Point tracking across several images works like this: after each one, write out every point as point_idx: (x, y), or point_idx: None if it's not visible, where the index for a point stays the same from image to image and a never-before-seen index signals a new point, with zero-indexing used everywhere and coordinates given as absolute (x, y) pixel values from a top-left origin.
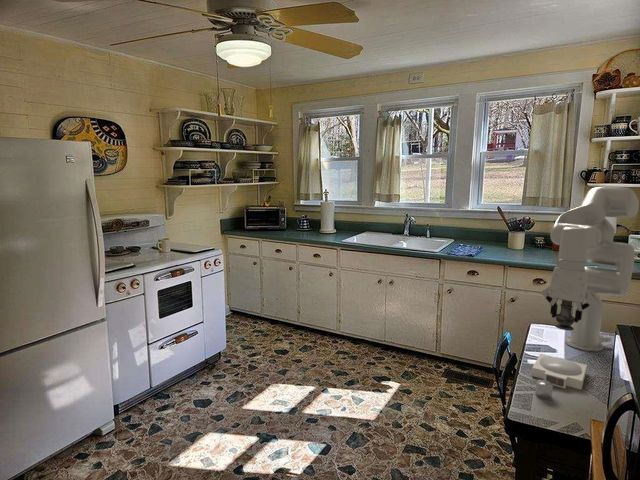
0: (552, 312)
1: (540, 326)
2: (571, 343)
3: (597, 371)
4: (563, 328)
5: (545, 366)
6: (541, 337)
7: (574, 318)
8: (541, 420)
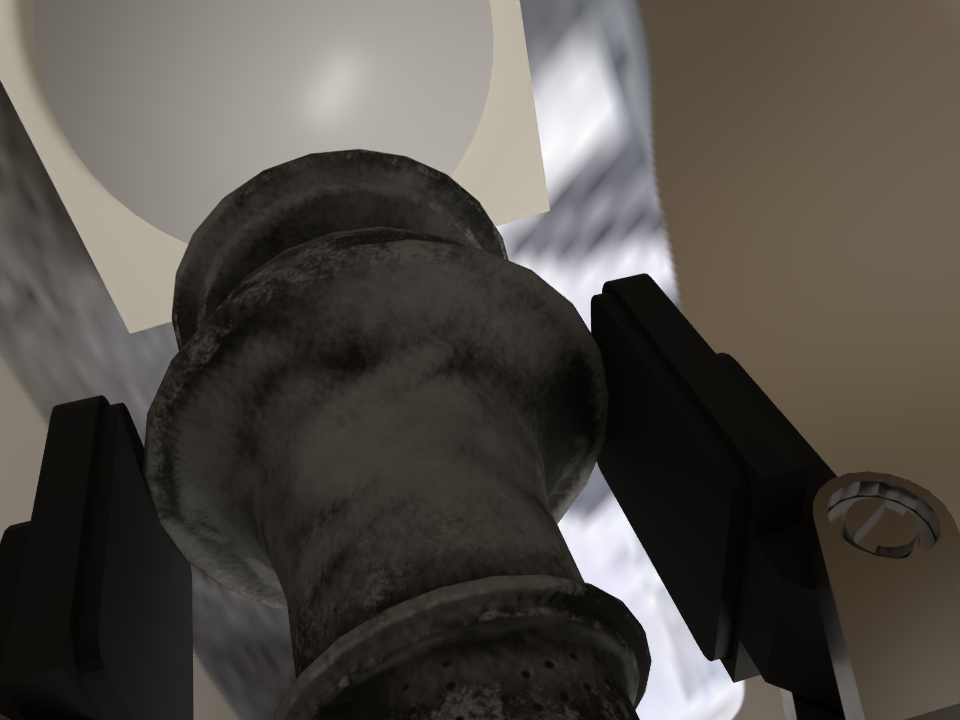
0: (694, 336)
1: (712, 714)
2: None
3: None
4: (307, 187)
5: None
6: (659, 589)
7: (190, 520)
8: None
